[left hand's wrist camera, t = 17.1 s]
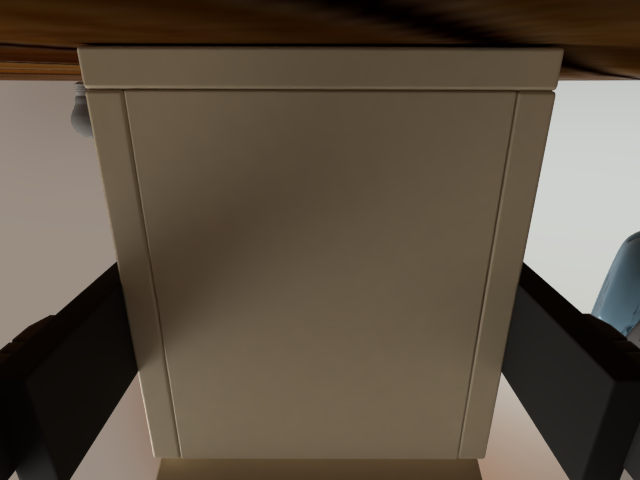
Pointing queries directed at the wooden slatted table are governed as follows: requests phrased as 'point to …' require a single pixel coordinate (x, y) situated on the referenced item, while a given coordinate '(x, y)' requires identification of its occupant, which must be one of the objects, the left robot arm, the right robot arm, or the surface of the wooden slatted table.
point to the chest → (319, 239)
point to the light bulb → (81, 112)
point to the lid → (318, 469)
